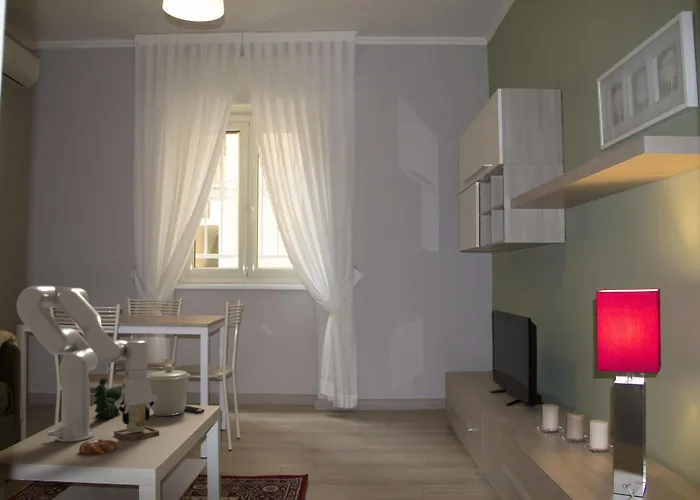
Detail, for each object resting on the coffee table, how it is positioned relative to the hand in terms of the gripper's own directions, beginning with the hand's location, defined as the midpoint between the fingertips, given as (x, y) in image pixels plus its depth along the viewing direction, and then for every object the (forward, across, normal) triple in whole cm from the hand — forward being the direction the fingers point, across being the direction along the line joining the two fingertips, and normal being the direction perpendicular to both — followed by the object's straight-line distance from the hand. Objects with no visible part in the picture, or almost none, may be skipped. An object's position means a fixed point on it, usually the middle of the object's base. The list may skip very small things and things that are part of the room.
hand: (136, 421), depth 217 cm
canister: (+5, +25, +24) cm, 35 cm away
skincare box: (+3, 0, 0) cm, 3 cm away
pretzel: (+6, -17, -10) cm, 21 cm away
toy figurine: (+5, +6, +39) cm, 40 cm away
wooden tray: (+5, 0, 0) cm, 5 cm away
